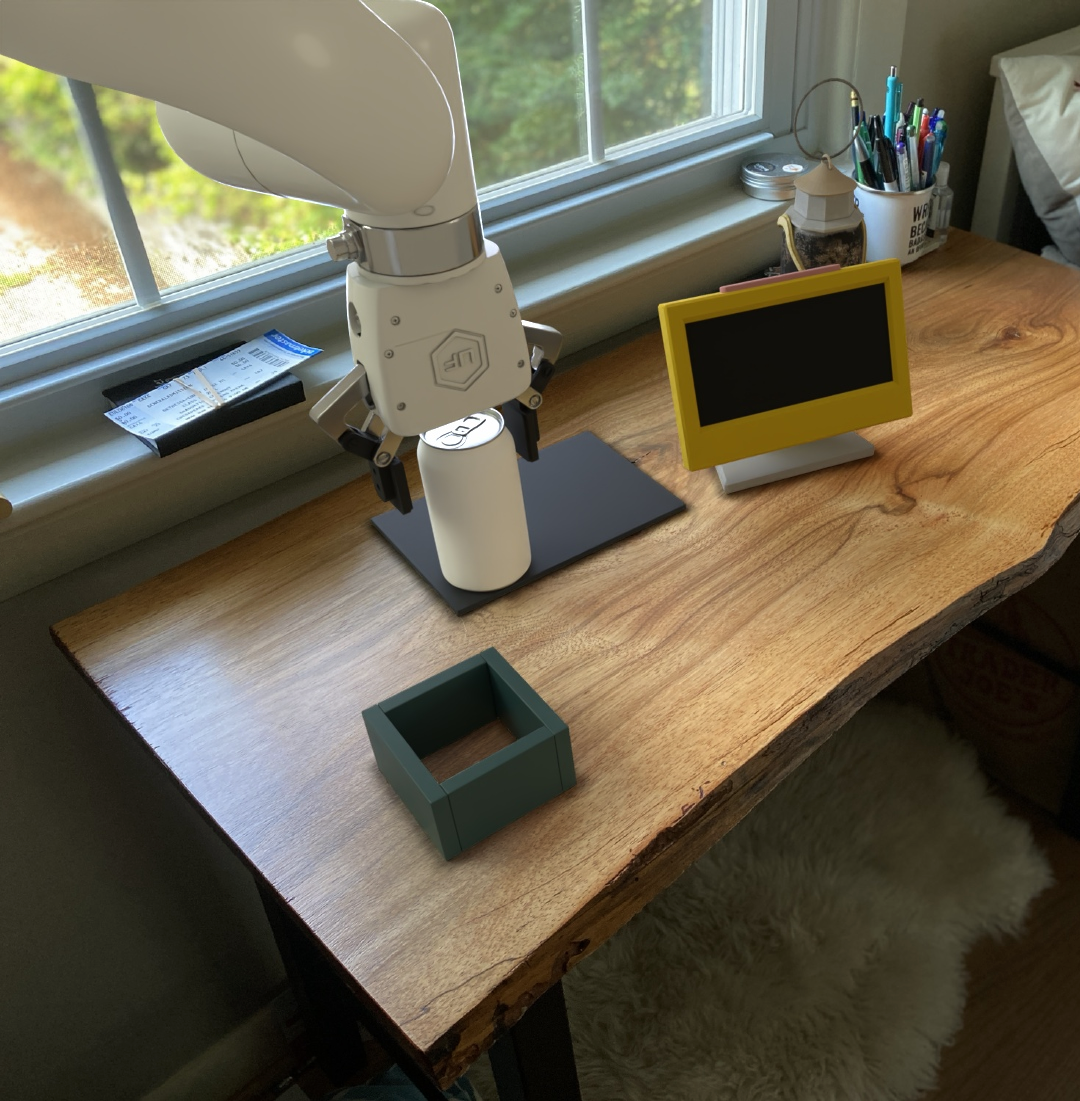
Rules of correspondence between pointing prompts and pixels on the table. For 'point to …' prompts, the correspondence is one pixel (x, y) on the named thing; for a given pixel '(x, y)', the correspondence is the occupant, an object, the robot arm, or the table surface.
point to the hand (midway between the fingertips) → (463, 477)
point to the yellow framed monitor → (787, 370)
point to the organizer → (491, 784)
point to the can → (475, 502)
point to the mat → (548, 514)
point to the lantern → (823, 214)
